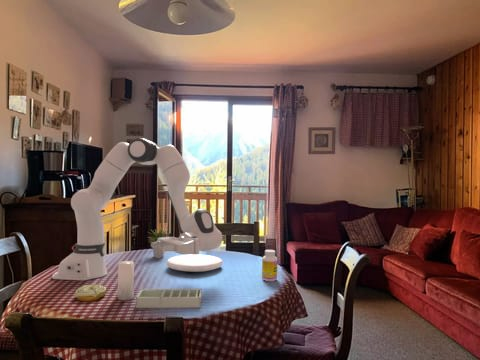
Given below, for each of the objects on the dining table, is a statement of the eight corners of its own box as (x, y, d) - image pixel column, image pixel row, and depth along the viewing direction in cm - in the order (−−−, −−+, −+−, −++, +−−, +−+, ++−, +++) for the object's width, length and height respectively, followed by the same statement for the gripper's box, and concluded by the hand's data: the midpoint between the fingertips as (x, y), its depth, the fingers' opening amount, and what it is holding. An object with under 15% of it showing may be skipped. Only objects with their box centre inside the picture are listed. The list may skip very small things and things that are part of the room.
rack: (136, 307, 126) (136, 297, 126) (141, 298, 135) (141, 289, 135) (200, 307, 128) (200, 297, 127) (201, 298, 136) (201, 289, 136)
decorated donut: (69, 302, 131) (69, 291, 131) (82, 292, 142) (82, 282, 142) (99, 302, 131) (99, 292, 131) (109, 293, 142) (109, 283, 142)
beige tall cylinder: (115, 300, 133) (116, 264, 133) (119, 295, 139) (120, 260, 139) (131, 300, 134) (132, 264, 133) (135, 295, 139) (135, 260, 139)
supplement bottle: (274, 282, 159) (275, 252, 158) (260, 280, 161) (260, 251, 161) (278, 278, 165) (279, 249, 165) (264, 276, 167) (264, 248, 167)
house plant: (146, 253, 211) (147, 225, 211) (171, 253, 213) (171, 225, 213) (143, 259, 197) (143, 228, 197) (169, 259, 199) (169, 228, 198)
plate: (179, 251, 197) (228, 254, 192) (179, 263, 197) (227, 267, 191) (158, 257, 170) (213, 261, 164) (157, 271, 169) (213, 275, 164)
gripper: (175, 232, 160) (145, 235, 152) (201, 238, 144) (169, 242, 136) (175, 246, 160) (145, 250, 152) (201, 254, 144) (169, 259, 136)
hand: (157, 247), depth 144 cm, fingers open, 8 cm apart
